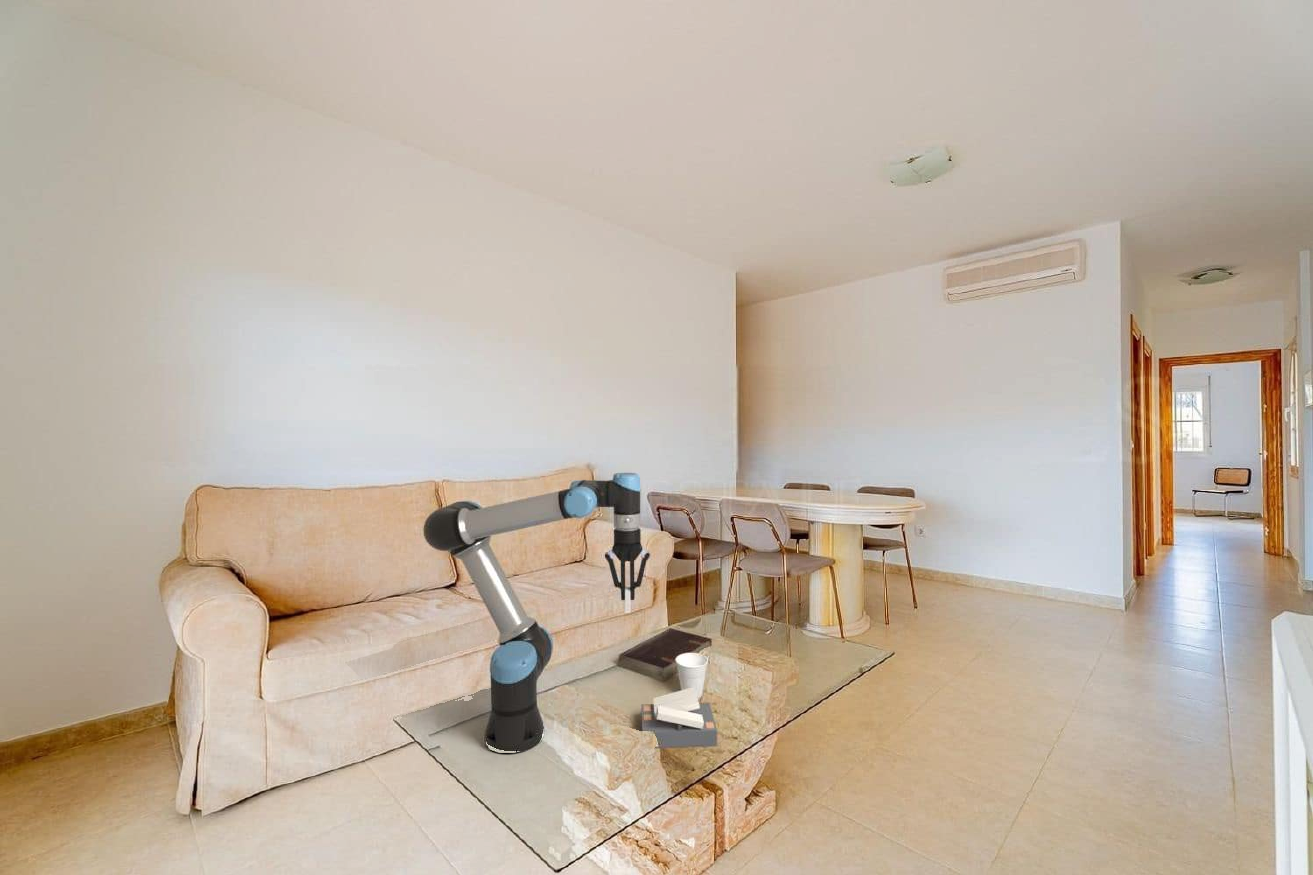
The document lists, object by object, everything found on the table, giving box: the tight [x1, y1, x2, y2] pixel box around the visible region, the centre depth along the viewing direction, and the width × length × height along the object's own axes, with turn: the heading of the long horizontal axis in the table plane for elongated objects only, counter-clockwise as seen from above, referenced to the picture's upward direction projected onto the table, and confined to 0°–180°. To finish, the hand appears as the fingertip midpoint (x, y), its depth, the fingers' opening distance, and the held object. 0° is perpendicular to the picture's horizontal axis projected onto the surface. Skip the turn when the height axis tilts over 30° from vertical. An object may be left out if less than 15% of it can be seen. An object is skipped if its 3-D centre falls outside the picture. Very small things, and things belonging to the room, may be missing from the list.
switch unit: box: [640, 702, 718, 749], centre depth 149 cm, size 19×14×6 cm
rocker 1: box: [652, 687, 698, 707], centre depth 153 cm, size 12×4×2 cm, turn 92°
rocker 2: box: [656, 706, 704, 729], centre depth 144 cm, size 12×4×2 cm, turn 94°
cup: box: [675, 653, 709, 700], centre depth 168 cm, size 10×10×11 cm
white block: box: [654, 695, 700, 720], centre depth 148 cm, size 12×4×2 cm, turn 92°
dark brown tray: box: [618, 627, 713, 683], centre depth 194 cm, size 29×19×5 cm, turn 143°
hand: (627, 611), depth 157 cm, fingers closed
